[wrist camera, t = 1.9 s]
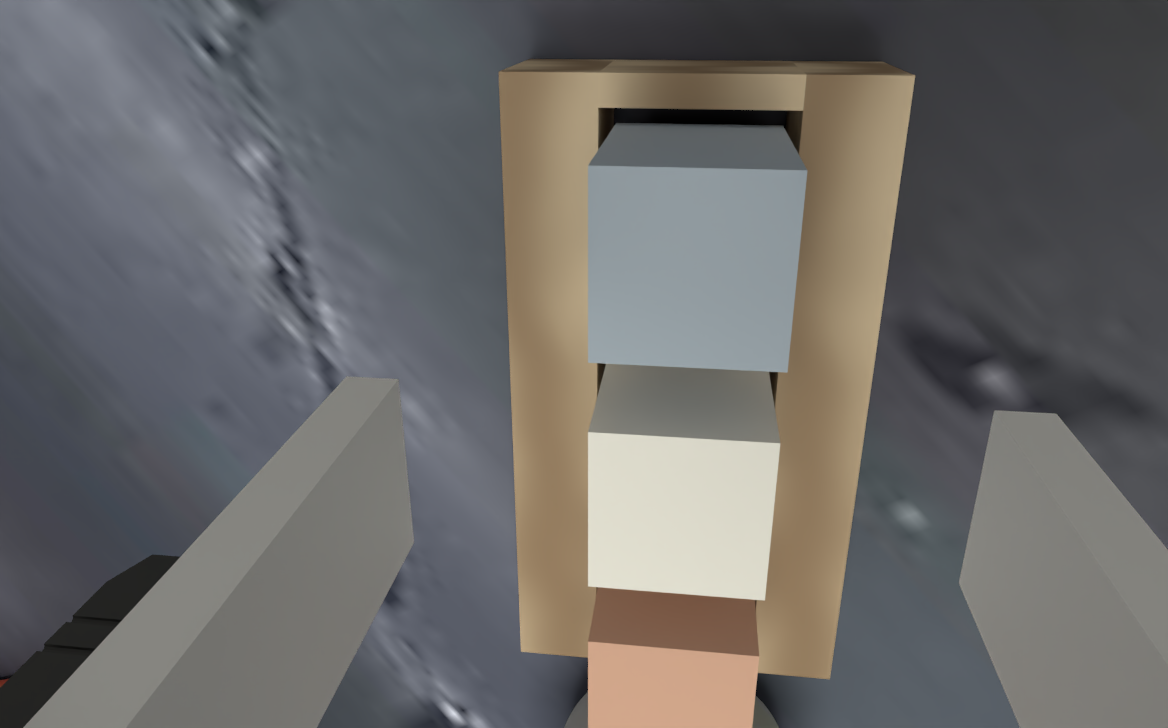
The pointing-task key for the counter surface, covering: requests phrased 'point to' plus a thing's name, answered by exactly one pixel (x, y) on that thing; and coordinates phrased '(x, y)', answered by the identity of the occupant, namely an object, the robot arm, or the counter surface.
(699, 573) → the ivory key
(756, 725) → the teacup
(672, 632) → the terracotta key
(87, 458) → the counter surface
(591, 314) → the slate key
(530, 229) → the light brown rectangular frame
